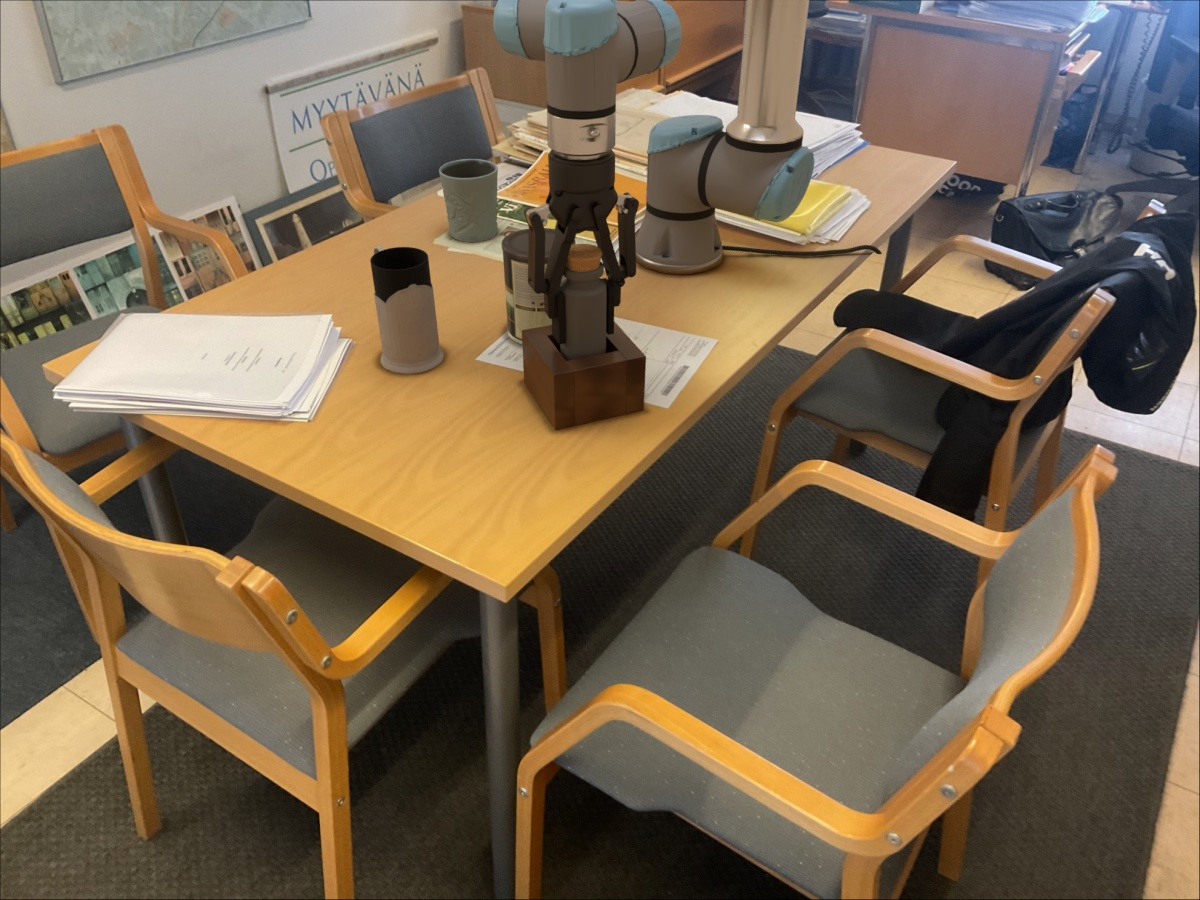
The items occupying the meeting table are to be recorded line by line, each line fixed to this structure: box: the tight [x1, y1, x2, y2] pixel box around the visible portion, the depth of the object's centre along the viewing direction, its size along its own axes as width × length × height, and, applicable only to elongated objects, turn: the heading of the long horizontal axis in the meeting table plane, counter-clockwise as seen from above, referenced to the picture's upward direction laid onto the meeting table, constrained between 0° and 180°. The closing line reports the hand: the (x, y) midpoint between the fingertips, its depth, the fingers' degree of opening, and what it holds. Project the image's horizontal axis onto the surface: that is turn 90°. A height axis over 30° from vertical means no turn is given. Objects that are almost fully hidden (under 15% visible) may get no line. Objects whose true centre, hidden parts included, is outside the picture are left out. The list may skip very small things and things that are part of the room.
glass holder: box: [369, 245, 445, 375], centre depth 124 cm, size 9×14×15 cm, turn 32°
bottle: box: [559, 243, 607, 361], centre depth 111 cm, size 6×6×15 cm
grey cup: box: [438, 158, 499, 243], centre depth 160 cm, size 10×10×12 cm
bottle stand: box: [521, 321, 647, 431], centre depth 116 cm, size 12×12×8 cm
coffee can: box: [501, 227, 577, 346], centre depth 129 cm, size 10×10×14 cm
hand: (583, 333), depth 113 cm, fingers closed on bottle, 6 cm apart
